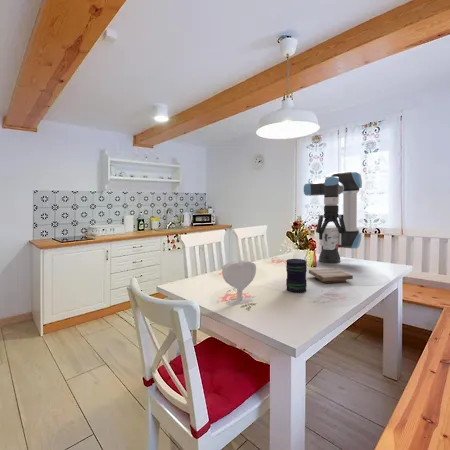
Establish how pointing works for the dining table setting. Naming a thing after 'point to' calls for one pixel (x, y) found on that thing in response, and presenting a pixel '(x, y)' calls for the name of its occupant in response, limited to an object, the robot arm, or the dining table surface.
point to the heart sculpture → (239, 278)
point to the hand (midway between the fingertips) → (330, 245)
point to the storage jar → (296, 275)
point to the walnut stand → (330, 275)
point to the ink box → (330, 238)
